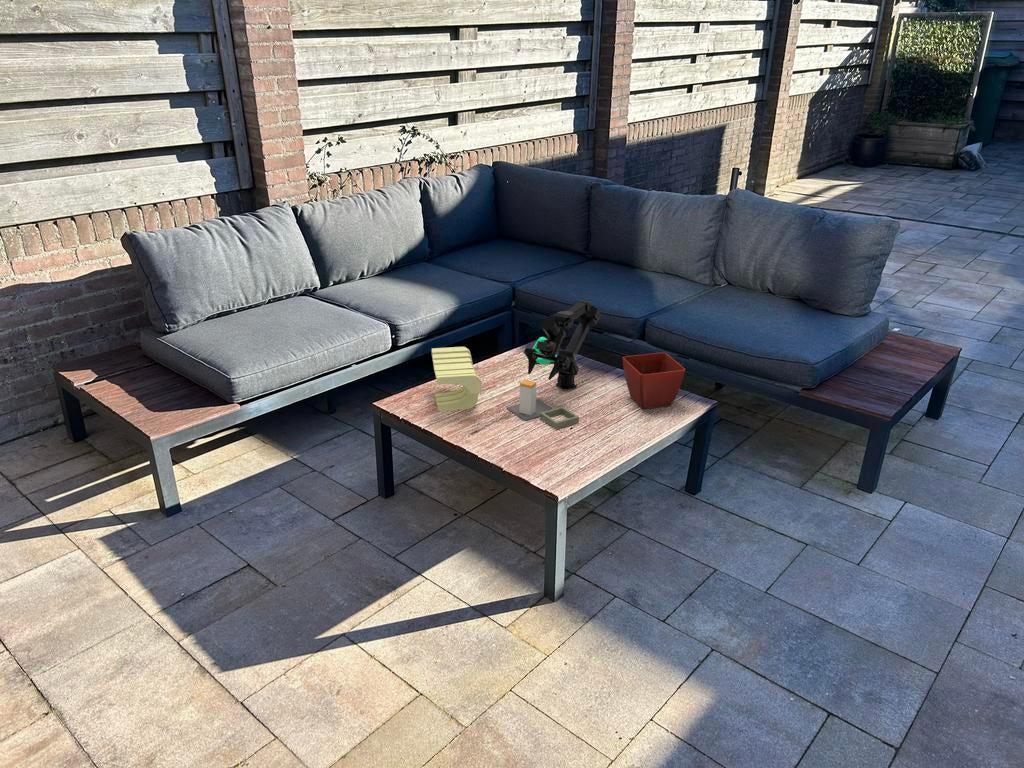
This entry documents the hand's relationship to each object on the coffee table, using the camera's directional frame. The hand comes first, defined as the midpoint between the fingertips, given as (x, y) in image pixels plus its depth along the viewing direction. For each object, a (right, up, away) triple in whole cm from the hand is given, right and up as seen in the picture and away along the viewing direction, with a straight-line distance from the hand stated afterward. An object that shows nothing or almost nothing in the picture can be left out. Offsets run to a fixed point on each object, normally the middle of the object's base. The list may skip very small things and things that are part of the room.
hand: (538, 376), depth 315 cm
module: (-4, -14, -1) cm, 15 cm away
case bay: (+8, -17, -7) cm, 20 cm away
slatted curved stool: (-33, -10, +8) cm, 35 cm away
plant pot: (+45, -10, +10) cm, 47 cm away
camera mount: (+4, +7, +49) cm, 49 cm away
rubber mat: (-3, -13, +1) cm, 14 cm away
